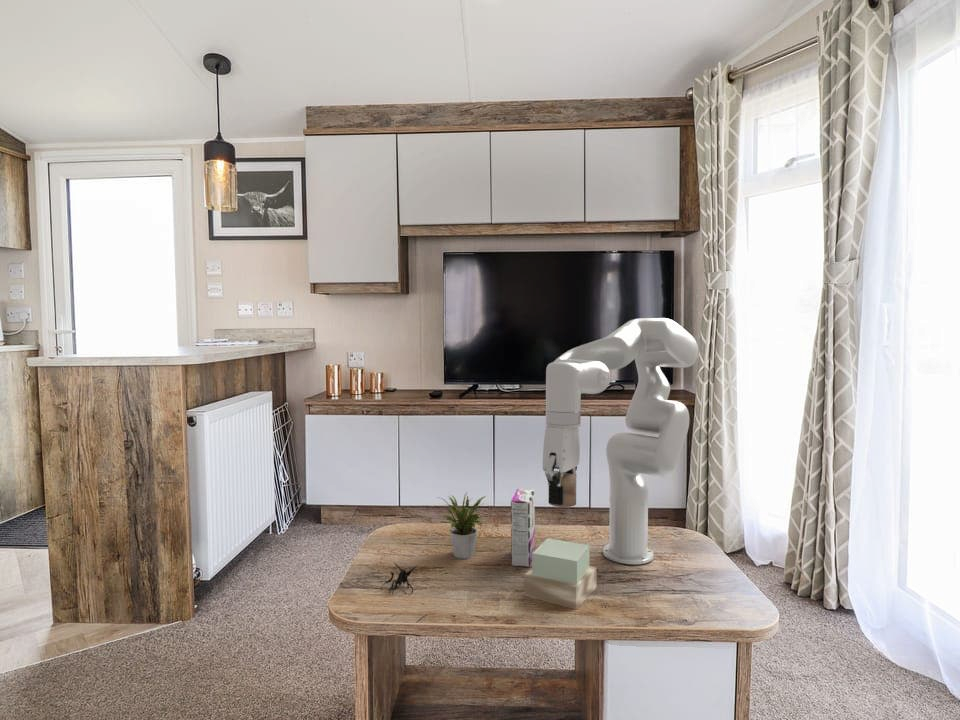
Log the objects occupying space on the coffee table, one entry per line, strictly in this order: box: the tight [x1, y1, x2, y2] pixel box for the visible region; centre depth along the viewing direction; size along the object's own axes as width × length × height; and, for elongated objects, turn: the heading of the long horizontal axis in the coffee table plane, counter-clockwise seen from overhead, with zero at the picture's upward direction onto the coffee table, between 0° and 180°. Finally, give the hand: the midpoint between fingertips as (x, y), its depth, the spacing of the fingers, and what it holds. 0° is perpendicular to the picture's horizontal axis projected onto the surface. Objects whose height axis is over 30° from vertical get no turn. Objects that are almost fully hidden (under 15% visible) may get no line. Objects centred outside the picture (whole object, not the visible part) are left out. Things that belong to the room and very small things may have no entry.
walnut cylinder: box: [548, 473, 577, 508], centre depth 126 cm, size 6×6×6 cm
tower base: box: [523, 565, 598, 610], centre depth 128 cm, size 12×12×5 cm
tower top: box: [531, 537, 591, 585], centre depth 127 cm, size 10×10×5 cm
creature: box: [380, 561, 418, 596], centre depth 128 cm, size 8×5×8 cm
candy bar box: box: [510, 488, 536, 568], centre depth 146 cm, size 11×5×16 cm, turn 168°
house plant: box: [437, 491, 487, 559], centre depth 148 cm, size 14×14×16 cm
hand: (562, 499), depth 126 cm, fingers closed on walnut cylinder, 6 cm apart
